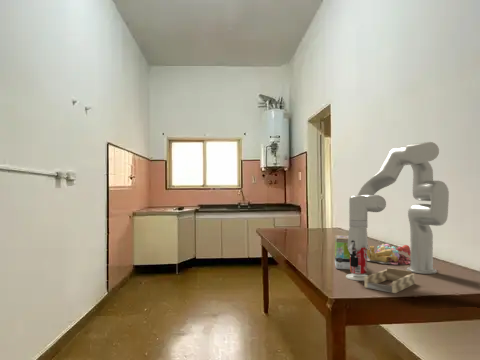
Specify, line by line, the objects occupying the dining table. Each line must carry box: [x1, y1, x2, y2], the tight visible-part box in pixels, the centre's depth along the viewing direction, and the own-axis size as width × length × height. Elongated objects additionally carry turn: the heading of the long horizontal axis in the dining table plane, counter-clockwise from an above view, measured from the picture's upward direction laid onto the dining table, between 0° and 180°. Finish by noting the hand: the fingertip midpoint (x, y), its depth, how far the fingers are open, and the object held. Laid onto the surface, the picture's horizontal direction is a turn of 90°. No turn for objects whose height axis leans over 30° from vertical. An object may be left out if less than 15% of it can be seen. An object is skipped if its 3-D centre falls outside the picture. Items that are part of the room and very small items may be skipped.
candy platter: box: [367, 243, 410, 266], centre depth 207 cm, size 25×24×9 cm
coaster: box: [345, 273, 369, 282], centre depth 166 cm, size 10×10×1 cm
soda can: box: [349, 247, 368, 275], centre depth 166 cm, size 7×7×12 cm
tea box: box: [334, 234, 350, 270], centre depth 191 cm, size 15×10×15 cm, turn 168°
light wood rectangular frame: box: [364, 267, 416, 294], centre depth 153 cm, size 20×12×5 cm, turn 137°
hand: (358, 264), depth 166 cm, fingers closed on soda can, 7 cm apart
